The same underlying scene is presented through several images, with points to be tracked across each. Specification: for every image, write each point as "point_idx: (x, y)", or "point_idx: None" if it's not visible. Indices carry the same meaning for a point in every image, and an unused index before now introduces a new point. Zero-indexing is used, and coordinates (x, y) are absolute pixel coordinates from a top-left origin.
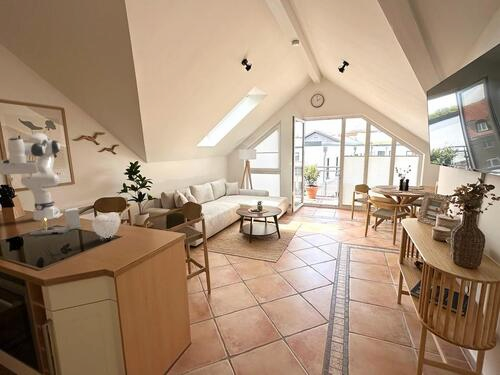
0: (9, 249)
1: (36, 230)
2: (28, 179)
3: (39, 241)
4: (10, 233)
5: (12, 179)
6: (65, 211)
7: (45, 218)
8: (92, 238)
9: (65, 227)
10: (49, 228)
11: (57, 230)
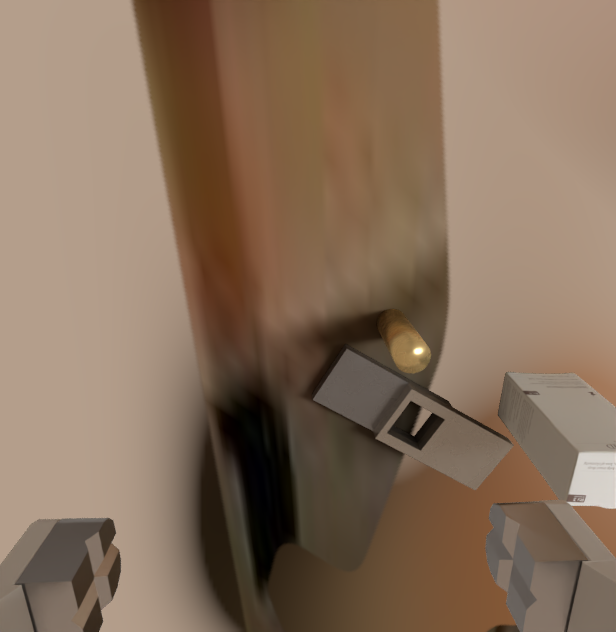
0: (252, 572)
1: (349, 362)
2: (500, 567)
3: (356, 535)
4: (212, 281)
5: (102, 596)
6: None
7: (422, 367)
8: None
9: (493, 446)
10: (416, 402)
11: (447, 473)
